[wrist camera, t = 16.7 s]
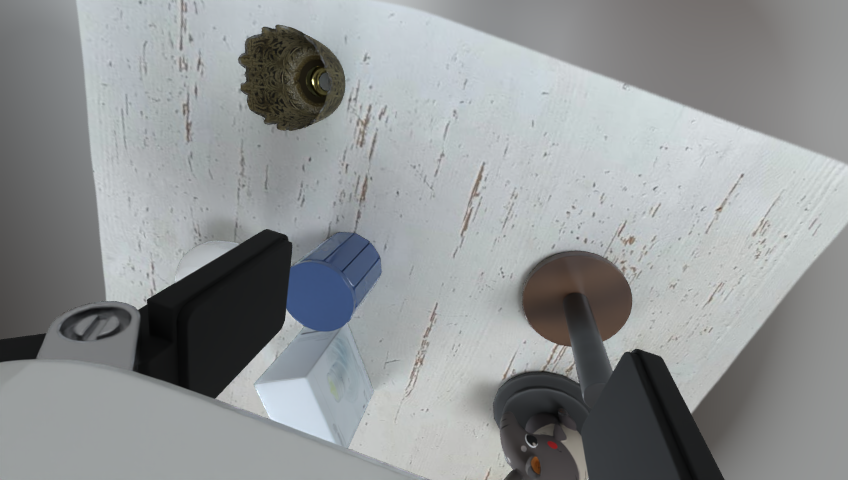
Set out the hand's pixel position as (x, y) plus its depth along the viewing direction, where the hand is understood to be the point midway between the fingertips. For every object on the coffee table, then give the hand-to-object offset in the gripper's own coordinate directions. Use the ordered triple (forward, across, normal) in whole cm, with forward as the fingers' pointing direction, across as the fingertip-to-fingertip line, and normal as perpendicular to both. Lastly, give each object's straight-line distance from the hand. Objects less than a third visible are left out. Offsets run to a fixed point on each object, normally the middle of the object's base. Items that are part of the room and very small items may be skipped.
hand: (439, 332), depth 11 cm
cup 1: (+28, +17, -2) cm, 33 cm away
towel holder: (+28, -12, +11) cm, 32 cm away
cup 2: (+28, +12, +16) cm, 34 cm away
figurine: (+28, -14, +26) cm, 41 cm away
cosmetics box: (+28, +11, +29) cm, 41 cm away
